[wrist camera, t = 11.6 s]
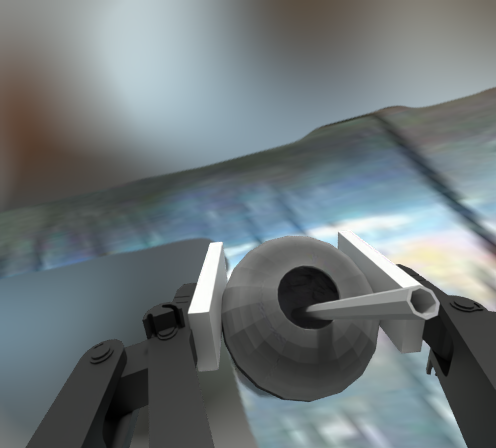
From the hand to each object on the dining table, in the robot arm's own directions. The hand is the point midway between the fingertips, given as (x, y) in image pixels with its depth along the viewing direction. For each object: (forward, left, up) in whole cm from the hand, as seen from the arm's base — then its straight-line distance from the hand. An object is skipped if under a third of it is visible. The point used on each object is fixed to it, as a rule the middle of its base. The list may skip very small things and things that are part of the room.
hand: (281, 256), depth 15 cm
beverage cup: (-3, +1, -10) cm, 10 cm away
